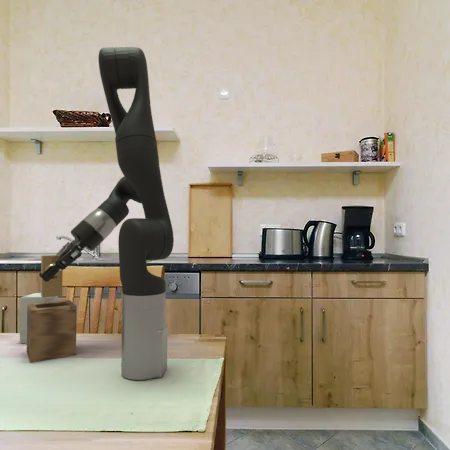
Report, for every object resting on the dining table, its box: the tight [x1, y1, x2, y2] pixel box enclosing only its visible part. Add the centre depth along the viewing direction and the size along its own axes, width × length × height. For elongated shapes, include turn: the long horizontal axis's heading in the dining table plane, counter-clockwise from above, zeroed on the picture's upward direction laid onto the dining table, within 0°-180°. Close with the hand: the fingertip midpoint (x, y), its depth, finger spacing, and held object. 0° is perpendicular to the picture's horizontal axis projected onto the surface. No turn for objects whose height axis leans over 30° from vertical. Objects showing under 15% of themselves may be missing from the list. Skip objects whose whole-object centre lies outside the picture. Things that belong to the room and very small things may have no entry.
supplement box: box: [19, 292, 59, 344], centre depth 102 cm, size 7×7×13 cm
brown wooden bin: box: [26, 299, 78, 364], centre depth 91 cm, size 10×9×12 cm
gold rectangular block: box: [40, 254, 64, 297], centre depth 91 cm, size 4×3×10 cm, turn 123°
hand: (42, 278), depth 90 cm, fingers closed on gold rectangular block, 2 cm apart
